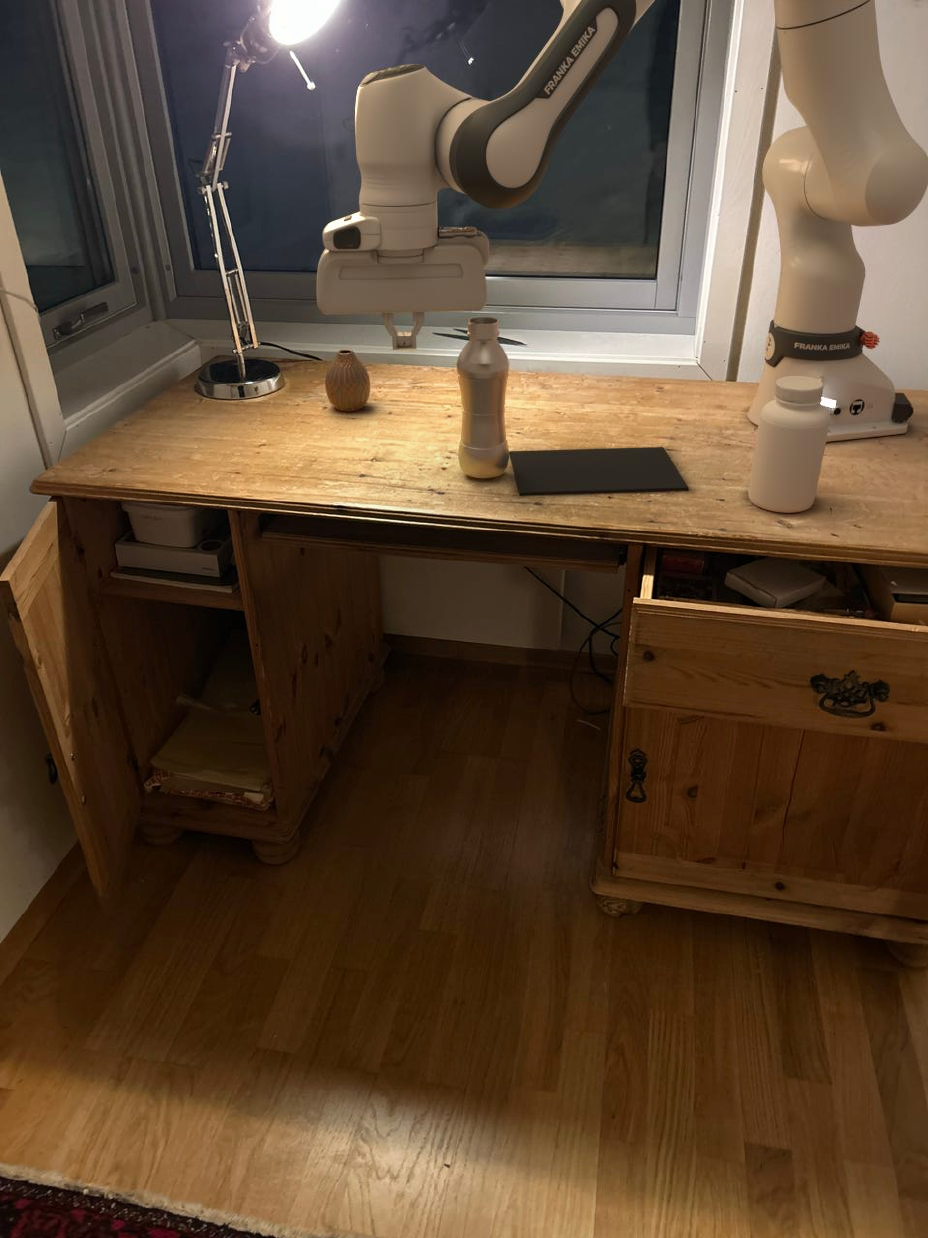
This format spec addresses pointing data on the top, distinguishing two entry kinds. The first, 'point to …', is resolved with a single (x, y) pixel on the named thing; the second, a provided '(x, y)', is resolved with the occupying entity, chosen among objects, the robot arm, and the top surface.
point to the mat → (595, 471)
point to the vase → (347, 382)
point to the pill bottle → (789, 446)
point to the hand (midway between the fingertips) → (404, 348)
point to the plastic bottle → (483, 400)
